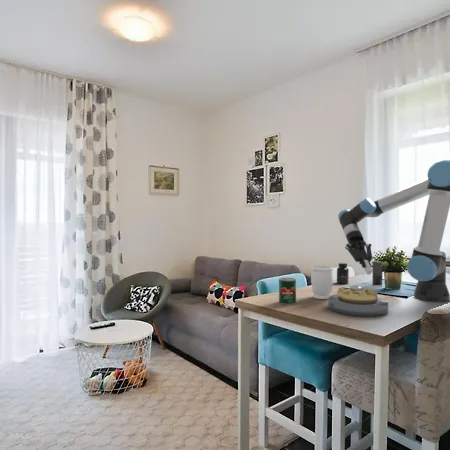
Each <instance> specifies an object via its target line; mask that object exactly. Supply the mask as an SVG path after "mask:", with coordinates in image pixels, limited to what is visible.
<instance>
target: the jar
mask: <svg viewBox="0 0 450 450" xmlns="http://www.w3.org/2000/svg"><path fill="white" fill-rule="evenodd" d="M310 270H311V274H310V282H311V290H312V293H313V296H312V297H313V298H314V299H317V300H328V297H330V296H331V295H330V294H331V293H332V289H333V283H334V278H333V277H334V276H333V272H332V271H333V267H332V266H325V265H316V266H315V265H314V266H311V267H310Z"/></svg>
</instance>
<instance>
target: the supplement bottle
mask: <svg viewBox="0 0 450 450" xmlns="http://www.w3.org/2000/svg"><path fill="white" fill-rule="evenodd" d="M349 271H350V270H349V268H348V263H345V262H339V263H338V267H337V268H336V283H337V284H340V285H348V284H349V281H350V280H349V278H350V277H349V275H350V274H349V273H350V272H349Z"/></svg>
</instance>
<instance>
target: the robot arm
mask: <svg viewBox="0 0 450 450" xmlns="http://www.w3.org/2000/svg"><path fill="white" fill-rule="evenodd" d="M427 196H429V197H428V201H427V204H426V205H427V206H426V209H425V212H424V213H425V214H424V216H423V217H424V218H423V222H422V227H421V232H420V235H419V240H418V245H417V246H415V247H414V248H413V249H412V253H411V258H409V260H408V261H407V265H406V268H407V272H408V274H409V275H410V277H411V278H413V279H414V280H416V281H417V283H416V286H415V288H414V291H413V297H414V298H415V299H418V300H422V301H429V302H449V301H450V291H449V288H448V286H447V276H446V275H447V274H446V273H447V255H446V252H444V251H441V245H442V241H443V237H444V233H445V228H446V223H447V220H448V215H449V211H450V160H449V159H441V160H438V161H436V162H434V163H432V165H431V166H430V167H429V168H428V170H427V178H425V179H423V180H420V181H418V182H415V183H413V184H412V185H409V186H407V187H404V188H402V189H400V190H398V191H395V192H394V193H391V194H389V195H387V196H383V197H382V198H379V199H378V200H375V201H373V200H372V199H370V198H369V197H366V198H365V199H363V200H360V201H359V203H357V205H355V206H353V208H351V209H344V210H341V211H340V212H339V213H338V215H337V216H338V217H337V218H338V221H339V224H340V226H341V228H342V231H343V233H344V235H345V238H346V240H347V243H346V245H345V247H344V248H345V249H346V250H347V251H348V253H349V254H350V255H351V257H352V258H353V260H354V261H355V262H356V263H359V265H361V268H363V269H364V271H365V273H366V275H371V274H372V263H371V262H372V260H373V254H372V249H371V248H372V244H371V243H367V242H366V241H365V240H364V239H365V238H364V236H363V234H362V231H361V230H360V227H359V225H358V223H359V222H361V221H363V219H365V218H377V217H379V216H381V215H382V214H384V213H387V212H390V211H392V210H394V209H396V208H399V207H402V206H405V205H407V204H409V203H412V202H414V201H417V200H419V199H422V198H424V197H427Z"/></svg>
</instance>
